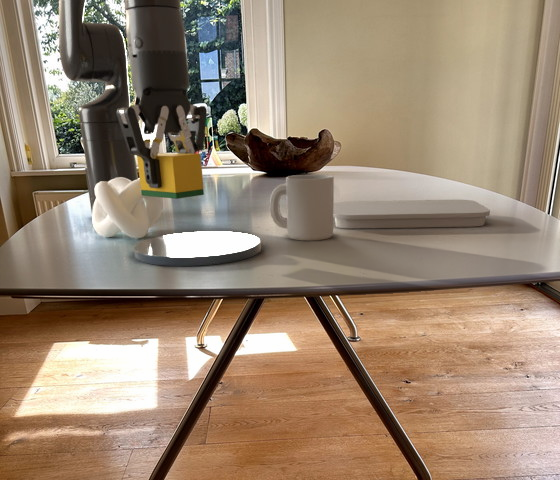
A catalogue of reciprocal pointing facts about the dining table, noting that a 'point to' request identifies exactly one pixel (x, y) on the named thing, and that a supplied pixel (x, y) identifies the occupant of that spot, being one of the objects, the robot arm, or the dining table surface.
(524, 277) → the dining table surface
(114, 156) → the robot arm
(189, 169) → the sponge
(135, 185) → the white knot sculpture
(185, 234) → the plate
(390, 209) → the grey flat slab
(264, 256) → the dining table surface
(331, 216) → the cup
